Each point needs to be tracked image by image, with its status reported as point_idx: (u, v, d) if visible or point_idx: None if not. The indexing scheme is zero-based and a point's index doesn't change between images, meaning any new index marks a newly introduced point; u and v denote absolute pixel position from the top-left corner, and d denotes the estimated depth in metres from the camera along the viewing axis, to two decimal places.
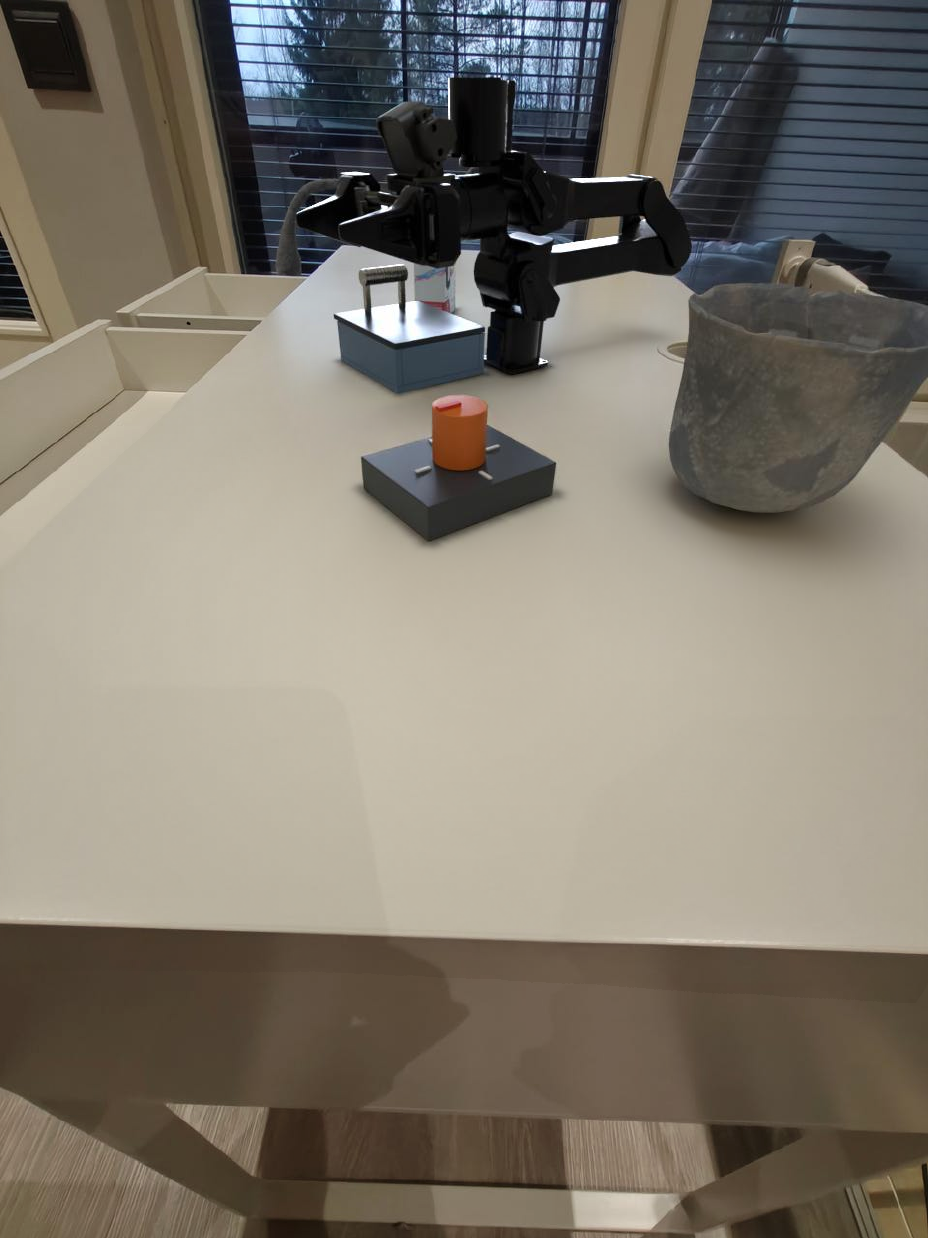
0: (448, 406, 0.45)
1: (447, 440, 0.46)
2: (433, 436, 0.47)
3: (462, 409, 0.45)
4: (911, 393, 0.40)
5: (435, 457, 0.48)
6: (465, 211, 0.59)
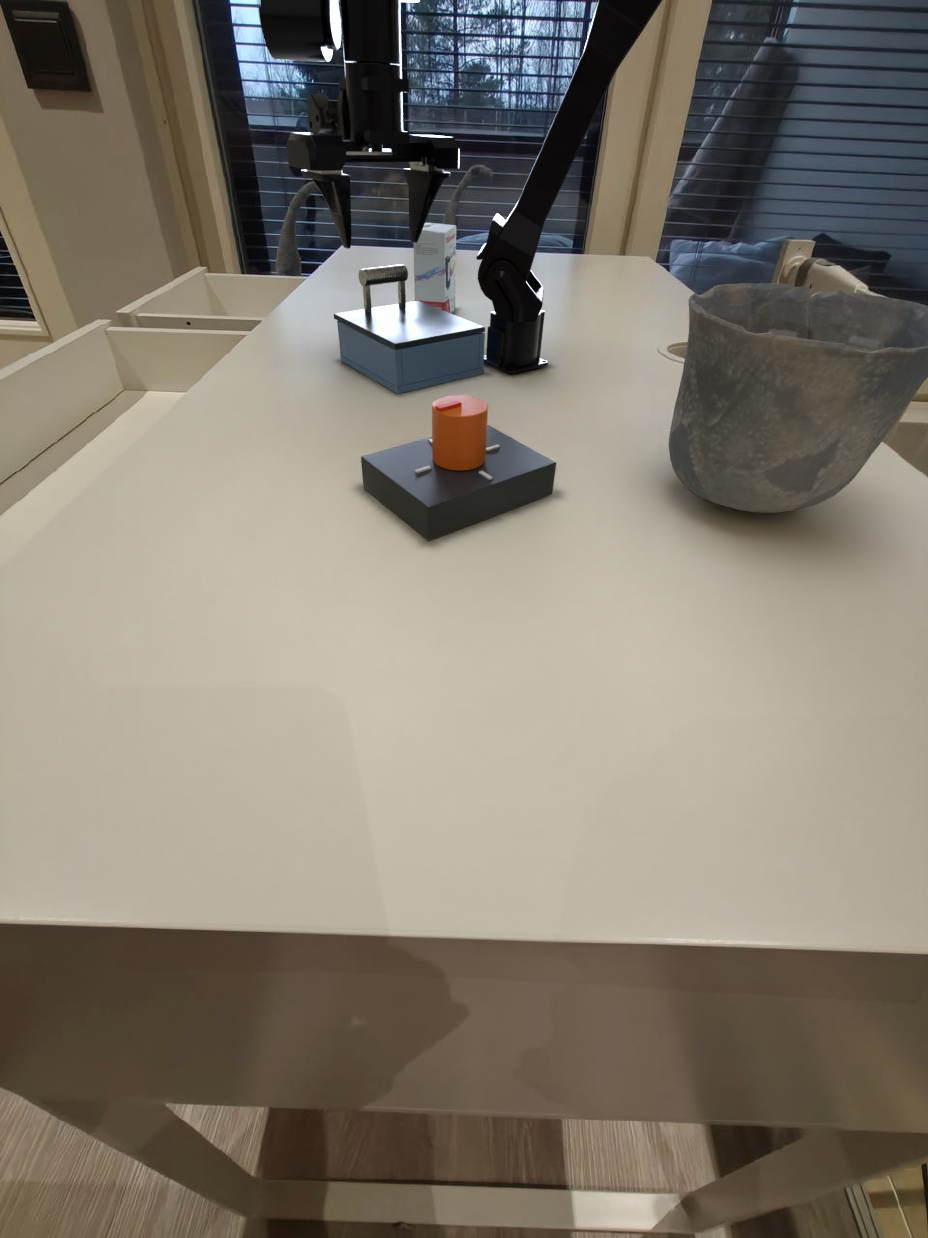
0: (448, 406, 0.45)
1: (447, 440, 0.46)
2: (433, 436, 0.47)
3: (462, 409, 0.45)
4: (911, 393, 0.40)
5: (435, 457, 0.48)
6: (347, 71, 0.59)
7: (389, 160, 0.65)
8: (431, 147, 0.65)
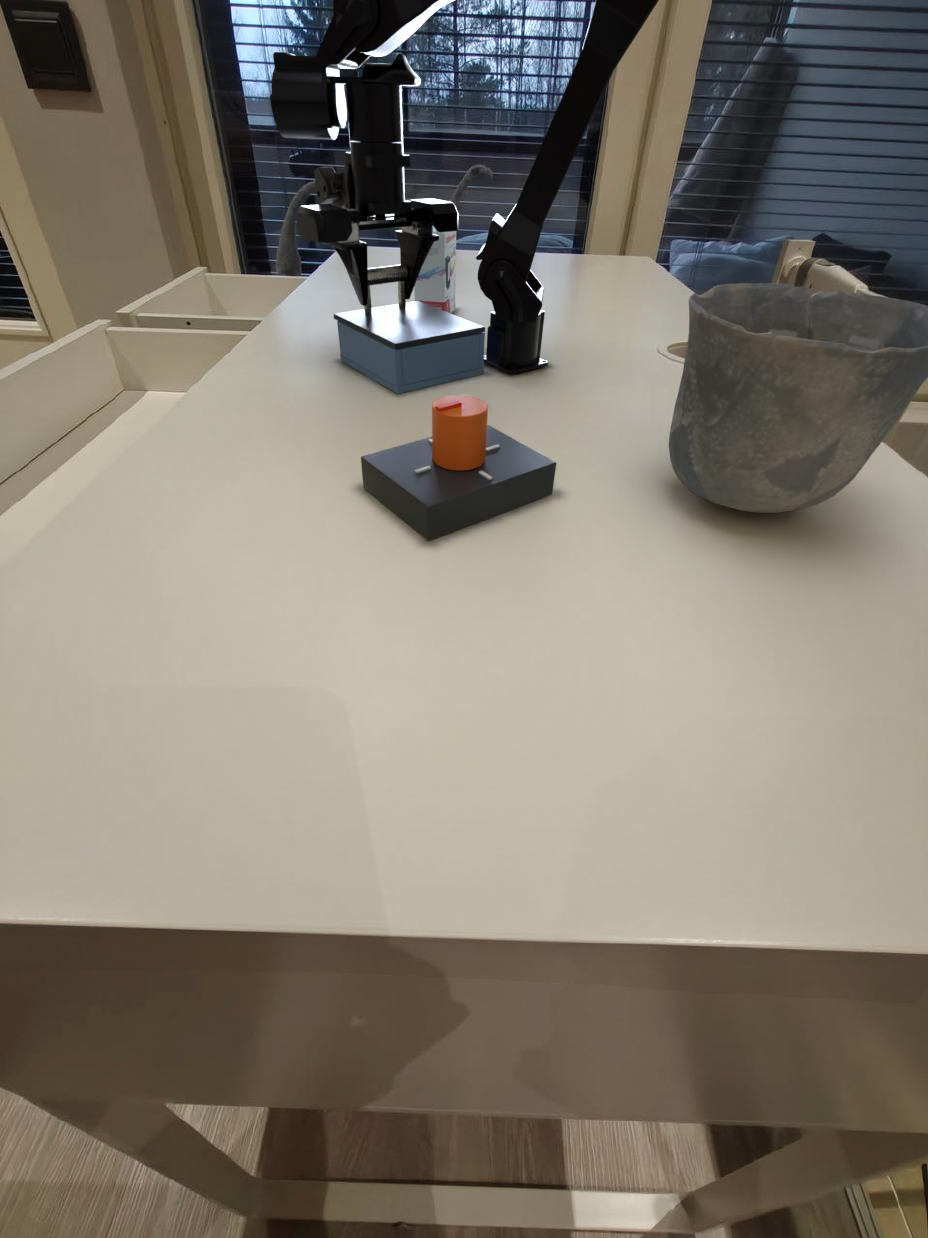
0: (448, 406, 0.45)
1: (447, 440, 0.46)
2: (433, 436, 0.47)
3: (462, 409, 0.45)
4: (911, 393, 0.40)
5: (435, 457, 0.48)
6: (352, 149, 0.63)
7: (392, 226, 0.69)
8: (432, 213, 0.69)
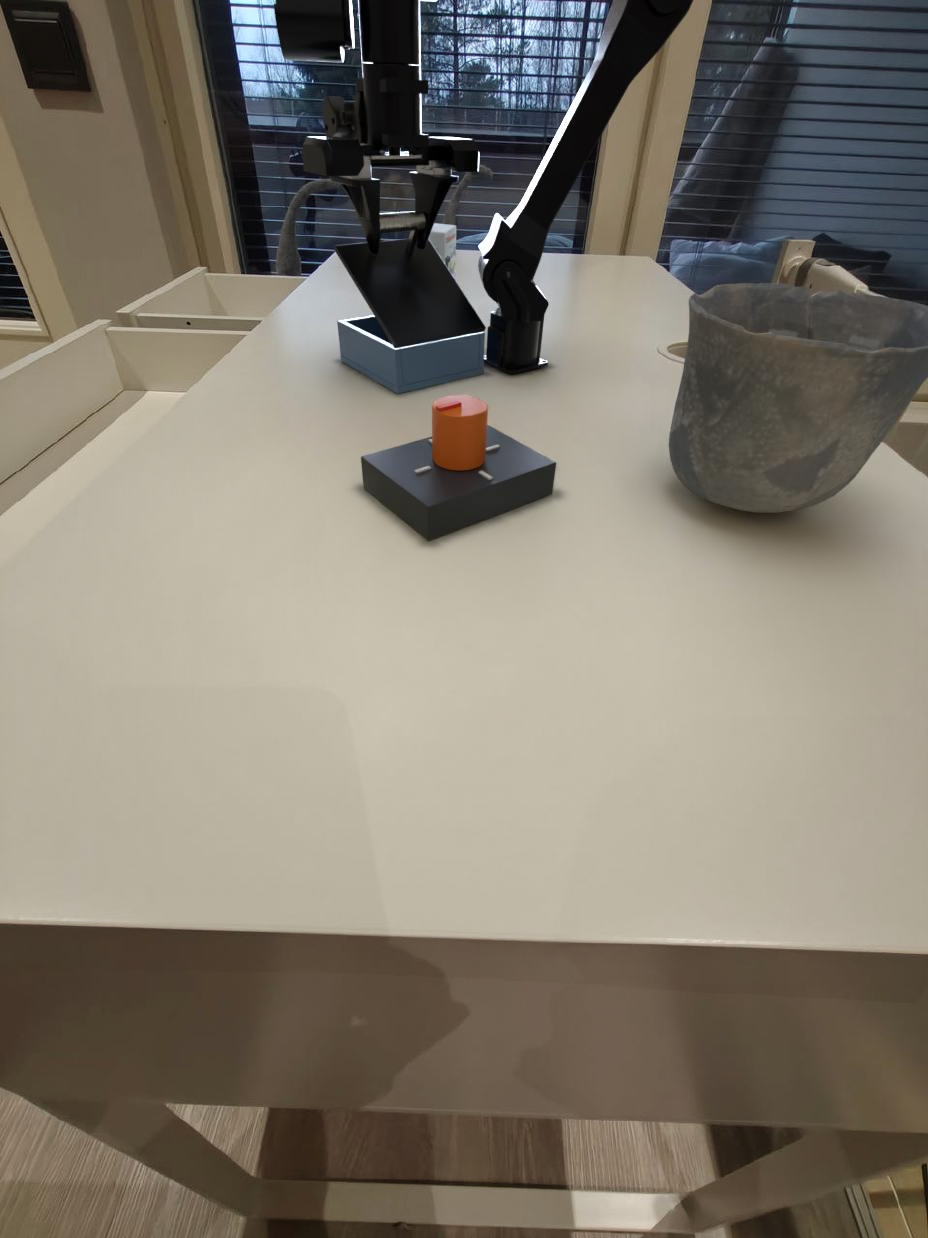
0: (448, 406, 0.45)
1: (447, 440, 0.46)
2: (433, 436, 0.47)
3: (462, 409, 0.45)
4: (911, 393, 0.40)
5: (435, 457, 0.48)
6: (365, 72, 0.57)
7: (407, 164, 0.63)
8: (451, 150, 0.63)
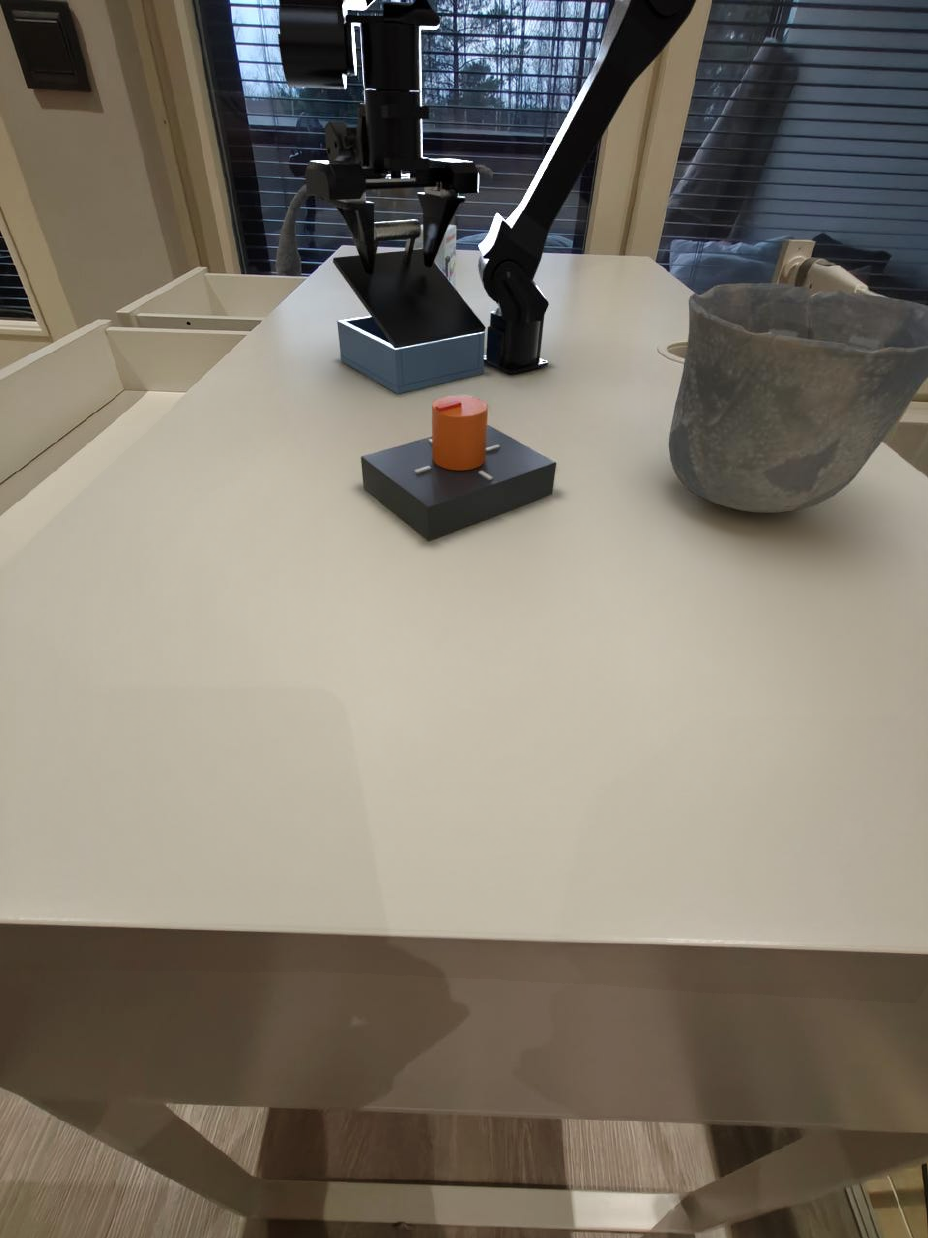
0: (448, 406, 0.45)
1: (447, 440, 0.46)
2: (433, 436, 0.47)
3: (462, 409, 0.45)
4: (911, 393, 0.40)
5: (435, 457, 0.48)
6: (367, 99, 0.58)
7: (408, 186, 0.64)
8: (451, 172, 0.64)
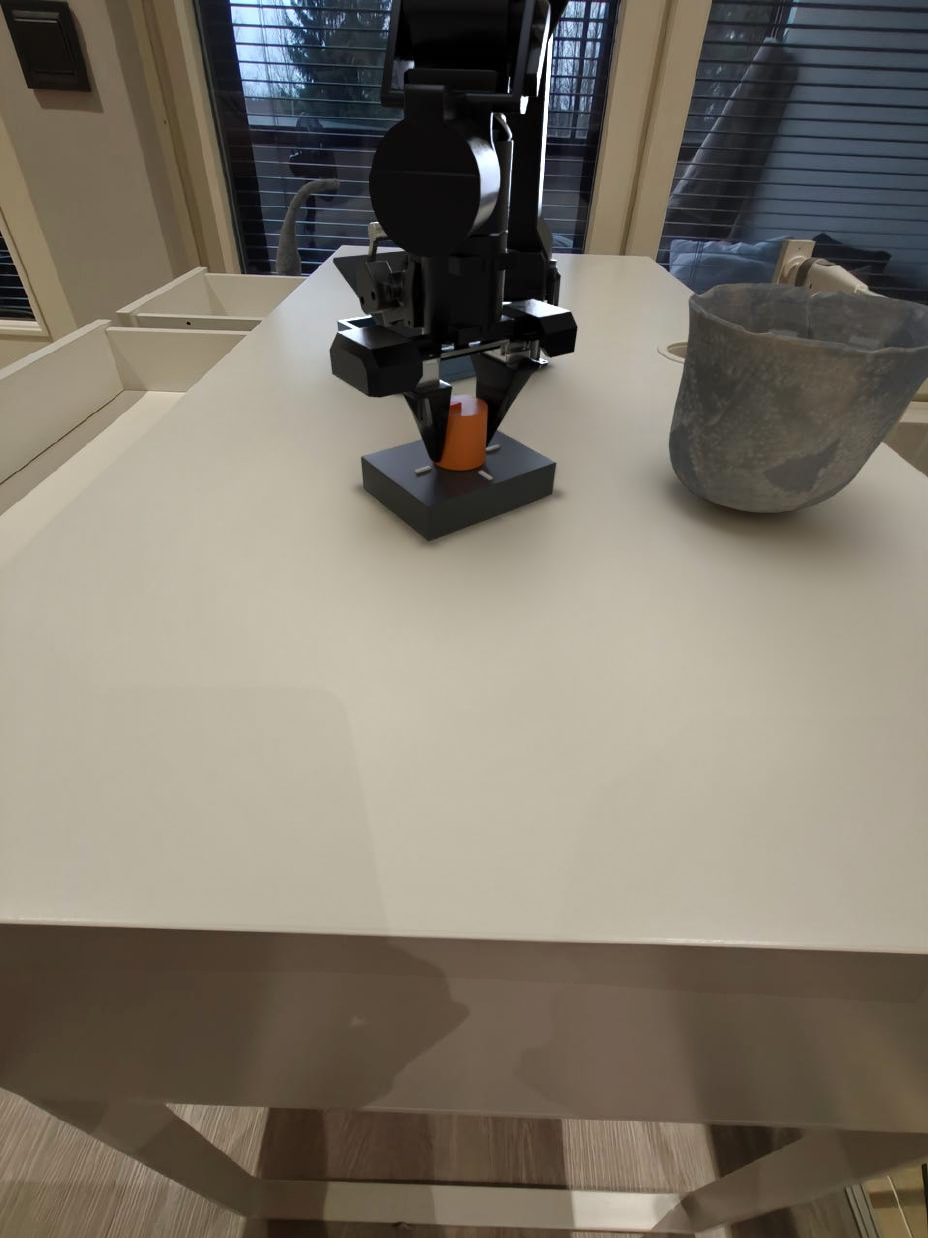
0: None
1: (447, 440, 0.46)
2: None
3: (462, 409, 0.45)
4: (911, 393, 0.40)
5: None
6: None
7: (478, 351, 0.44)
8: (541, 331, 0.44)
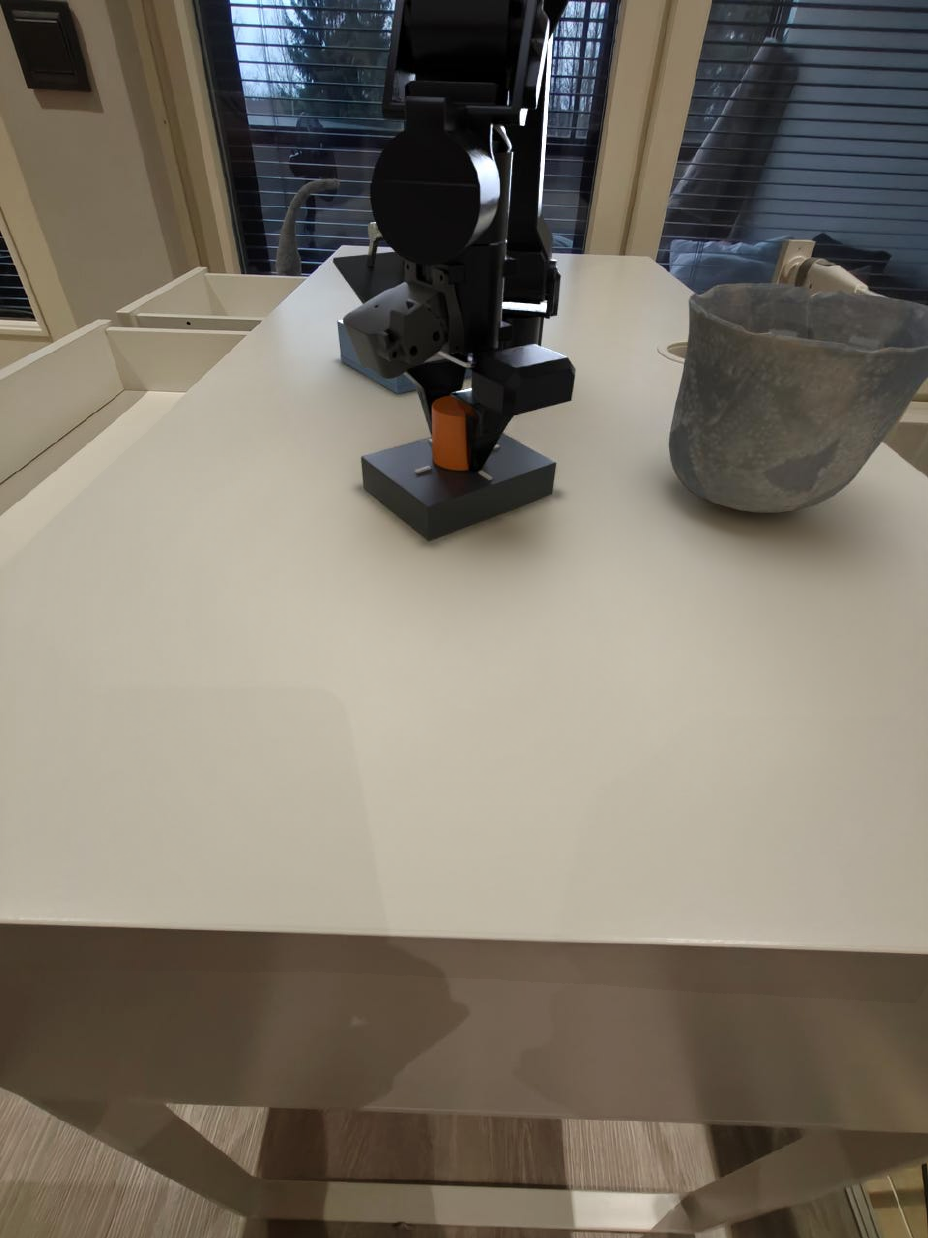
0: None
1: None
2: None
3: None
4: (911, 393, 0.40)
5: None
6: (487, 257, 0.38)
7: None
8: None
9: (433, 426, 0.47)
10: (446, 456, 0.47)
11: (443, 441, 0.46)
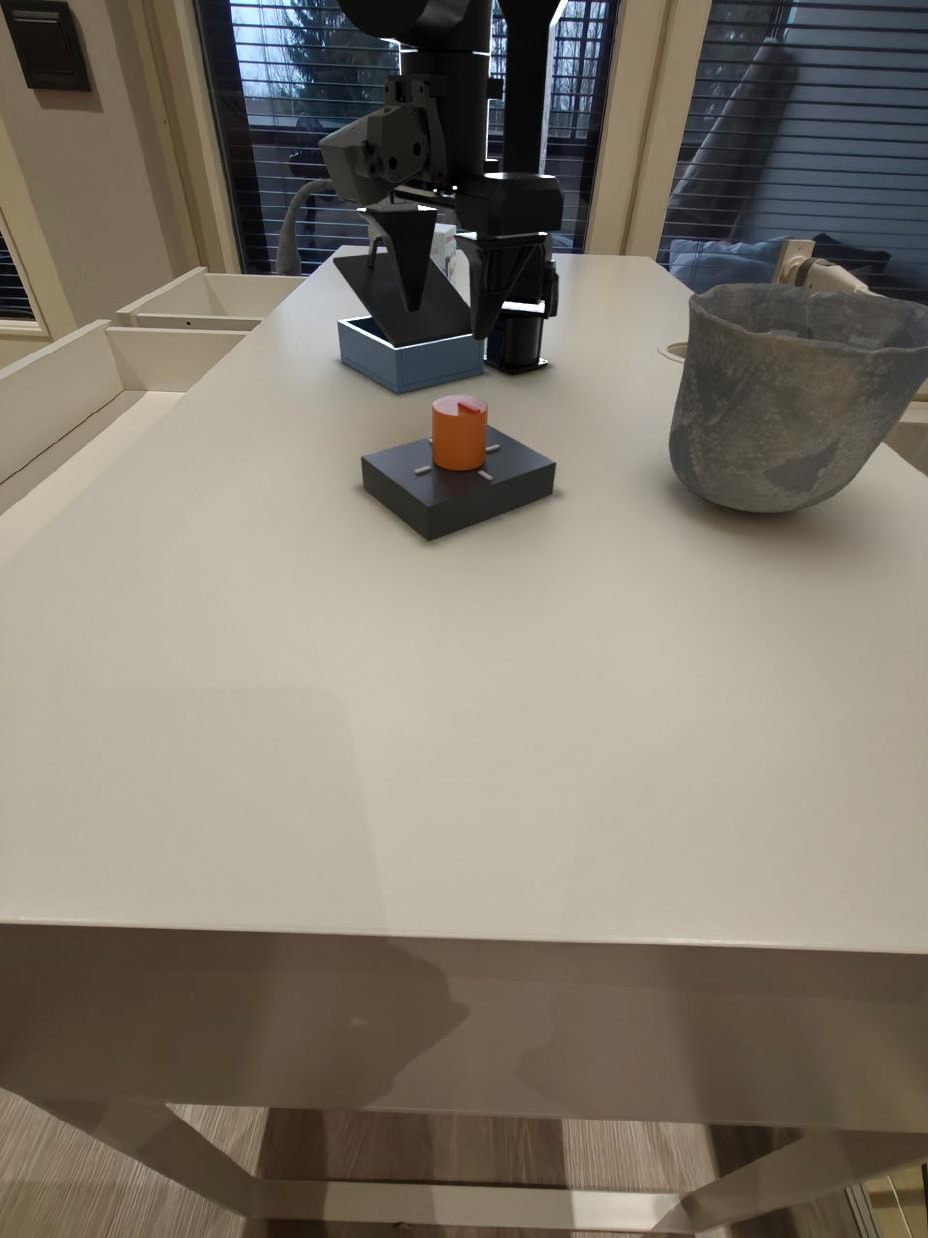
0: (473, 406, 0.45)
1: (484, 435, 0.47)
2: (469, 444, 0.46)
3: (471, 404, 0.46)
4: (911, 393, 0.40)
5: (473, 462, 0.47)
6: (470, 68, 0.36)
7: None
8: None
9: (433, 426, 0.47)
10: (446, 456, 0.47)
11: (444, 441, 0.46)
